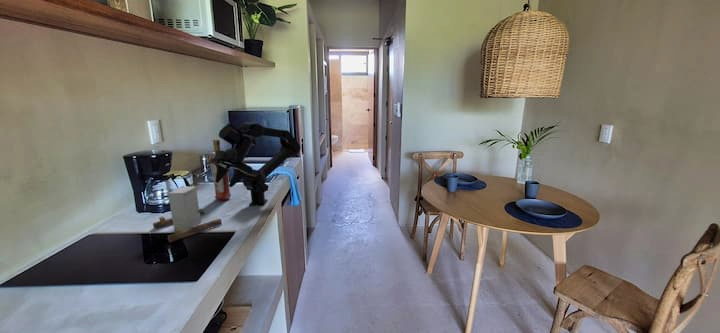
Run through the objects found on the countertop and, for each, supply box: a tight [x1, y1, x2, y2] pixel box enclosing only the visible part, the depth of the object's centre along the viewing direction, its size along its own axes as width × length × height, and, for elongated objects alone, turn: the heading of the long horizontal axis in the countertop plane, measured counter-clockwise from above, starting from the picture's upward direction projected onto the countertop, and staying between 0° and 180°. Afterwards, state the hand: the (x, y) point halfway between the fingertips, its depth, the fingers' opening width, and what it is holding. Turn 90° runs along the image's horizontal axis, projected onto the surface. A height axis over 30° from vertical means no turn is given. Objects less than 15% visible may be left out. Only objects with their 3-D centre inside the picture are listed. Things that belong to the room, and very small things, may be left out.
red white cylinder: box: [209, 138, 232, 201], centre depth 139 cm, size 7×7×28 cm
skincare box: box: [167, 186, 202, 231], centre depth 114 cm, size 8×6×15 cm
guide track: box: [152, 208, 222, 243], centre depth 115 cm, size 18×16×4 cm
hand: (223, 184), depth 122 cm, fingers open, 9 cm apart
